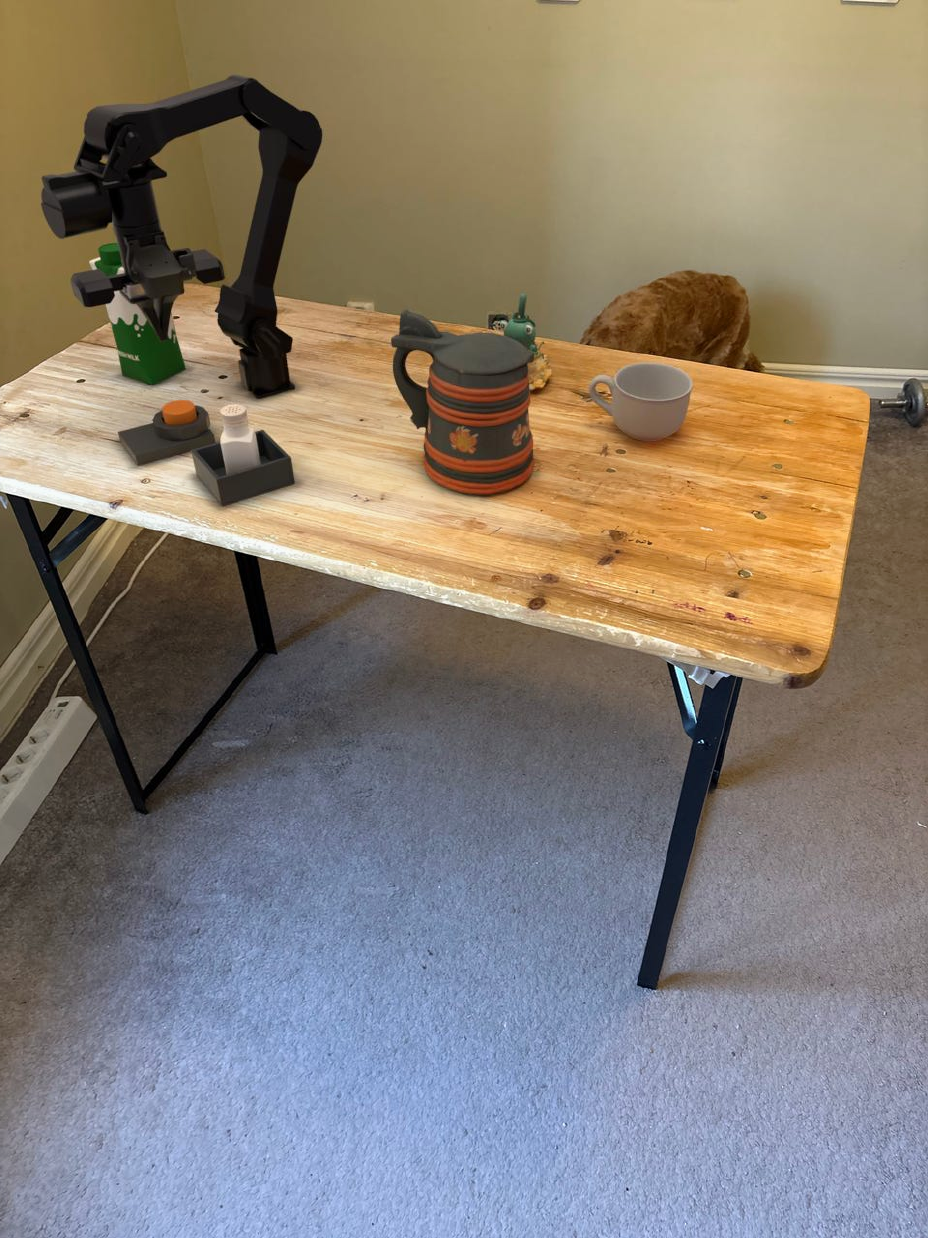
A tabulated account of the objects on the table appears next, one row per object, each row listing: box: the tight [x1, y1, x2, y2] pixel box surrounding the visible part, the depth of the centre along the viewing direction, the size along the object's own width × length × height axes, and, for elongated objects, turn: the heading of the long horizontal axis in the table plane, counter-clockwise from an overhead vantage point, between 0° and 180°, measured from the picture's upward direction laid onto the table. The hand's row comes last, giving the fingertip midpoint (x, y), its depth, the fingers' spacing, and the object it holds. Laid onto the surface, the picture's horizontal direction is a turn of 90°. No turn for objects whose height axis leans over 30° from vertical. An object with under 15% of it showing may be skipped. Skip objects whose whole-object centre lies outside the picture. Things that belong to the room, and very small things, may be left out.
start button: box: [161, 399, 197, 425], centre depth 125 cm, size 4×4×2 cm
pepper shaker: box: [219, 403, 261, 474], centre depth 116 cm, size 4×4×10 cm
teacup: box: [588, 361, 694, 442], centre depth 126 cm, size 14×11×8 cm
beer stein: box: [390, 309, 535, 496], centre depth 115 cm, size 19×15×20 cm
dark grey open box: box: [190, 429, 296, 508], centre depth 118 cm, size 10×9×4 cm
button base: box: [117, 404, 216, 467], centre depth 126 cm, size 12×8×4 cm
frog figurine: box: [496, 292, 553, 392], centre depth 137 cm, size 10×18×15 cm, turn 144°
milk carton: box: [88, 242, 187, 386], centre depth 138 cm, size 9×9×20 cm
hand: (163, 340), depth 125 cm, fingers closed
